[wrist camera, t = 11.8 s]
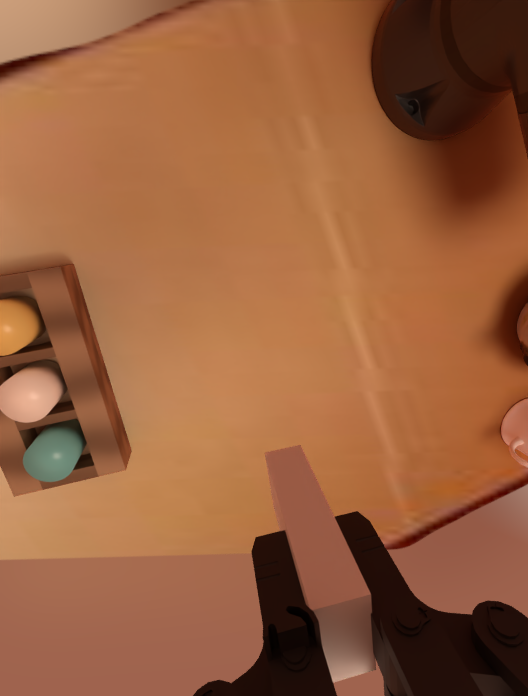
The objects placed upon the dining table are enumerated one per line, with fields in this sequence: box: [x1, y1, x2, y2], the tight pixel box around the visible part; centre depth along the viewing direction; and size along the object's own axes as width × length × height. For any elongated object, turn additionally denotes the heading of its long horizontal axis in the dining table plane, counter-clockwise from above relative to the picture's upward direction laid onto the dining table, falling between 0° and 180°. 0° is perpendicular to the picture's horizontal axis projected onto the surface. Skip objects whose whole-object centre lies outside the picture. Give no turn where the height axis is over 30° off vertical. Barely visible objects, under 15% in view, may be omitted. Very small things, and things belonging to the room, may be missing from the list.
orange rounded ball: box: [0, 296, 46, 356], centre depth 35 cm, size 5×5×5 cm
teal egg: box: [23, 419, 87, 482], centre depth 39 cm, size 5×5×5 cm
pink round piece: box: [0, 360, 68, 423], centre depth 37 cm, size 5×5×5 cm
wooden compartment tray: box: [0, 264, 131, 496], centre depth 39 cm, size 23×12×4 cm, turn 9°
